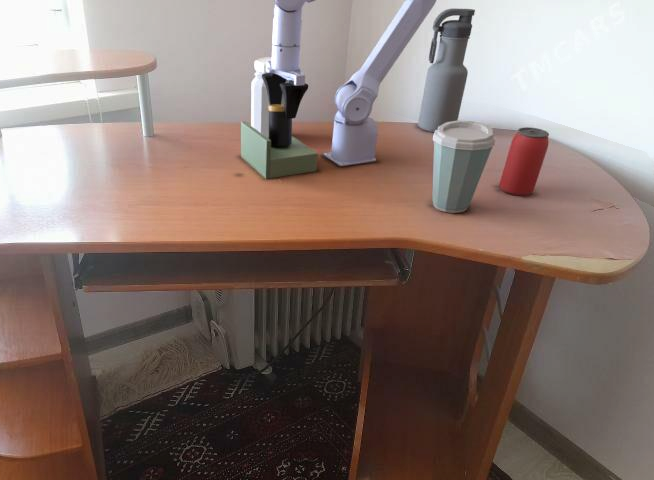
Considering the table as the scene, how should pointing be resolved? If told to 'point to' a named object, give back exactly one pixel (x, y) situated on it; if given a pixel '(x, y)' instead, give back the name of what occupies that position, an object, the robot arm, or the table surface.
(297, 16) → the robot arm
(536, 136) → the beer can
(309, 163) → the shelf
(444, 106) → the water bottle
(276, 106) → the canister
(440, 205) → the disposable coffee cup
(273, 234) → the table surface
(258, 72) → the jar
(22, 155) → the table surface
